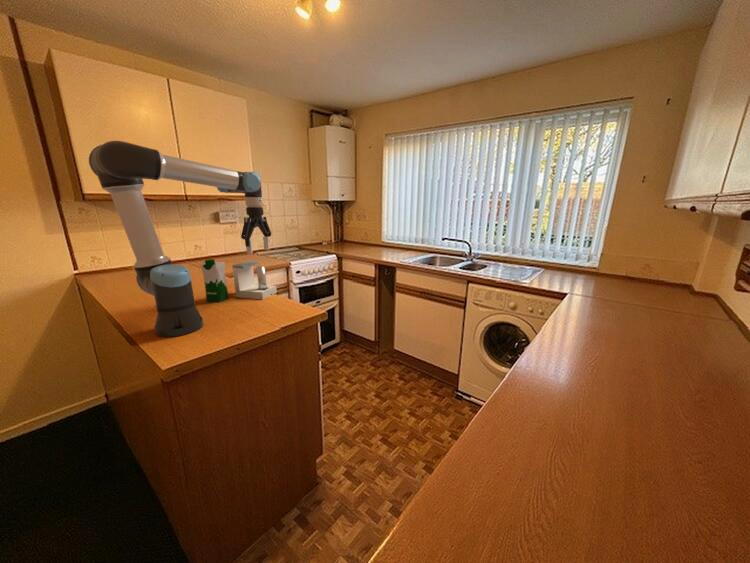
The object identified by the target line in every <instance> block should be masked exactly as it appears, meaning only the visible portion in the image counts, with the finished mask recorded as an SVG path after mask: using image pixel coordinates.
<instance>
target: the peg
mask: <svg viewBox="0 0 750 563" xmlns="http://www.w3.org/2000/svg"><path fill="white" fill-rule="evenodd" d="M255 269H256V276H257V277H256V278H257V285H258V289H259V290H266V289H267V286H268V284H267V275H266V267H265V265H257V266H256V268H255Z"/></svg>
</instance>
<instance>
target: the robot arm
mask: <svg viewBox="0 0 750 563" xmlns="http://www.w3.org/2000/svg"><path fill="white" fill-rule="evenodd" d="M88 164H89V167H90V169H91V171H92V172H93V173H94V175H95V176H97V179H98V181H99V184H100V185H101V188H102V190H104V191H106V192H107V193H109V194H110V196H111V198H112V201H113V203H114V206H115V208H116V212H117V213H118V217H119V219H120V221H121V224H122V226H123V229H124V231H125V234H126V237H127V239H128V242H129V243H130V246H131V249H132V252H133V255H134V257H135V259H136V261H135V263H134V264H133V269H134V270H135V273H136V278H135V279H136V283H137V285H138V287H139V289H141V290H142V291H143V292H145V293H146V294H149V295H151V296H153V297H154V300H155V301H154V302H155V306H156V310H157V314H156V320H155V325H154V333H155V335H156V336H158V337H162V338H163V337H165V338H170V337H171V338H173V337H179V336H184V335H187V334H191V333H193V332H196V331H198V330H201V329H202V328H203V326H204V319H203V317H202V316H201V314H200V312H199V310H198V309H197V307H196V303H195V302H196V301H195V297H194V290H193V284H192V276H191V273H190V270H189V268H188V267H186V266H185V265H182V264H174V263H173V262H172V260H171V257H169V256H167V255H165V254H164V251H163V249H162V245H161V242H160V240H159V236H158V235H157V231H156V229H155V226H154V223H153V221H152V217H151V214H150V212H149V209H148V206H147V203H146V201H145V197H144V195H143V192H142V189H143V188H144V187H145V183H144V180H151V181H159V180H161V179H165V180H171V181H172V180H173V181H176V182H177V181H179V182H184V183H190V184H197V185H201V186H209V187H214V188H216V190H217V191H219V192H220V193H225V194H228V193H229V194H244V201H245V202H244V203H245V206H246V208H245V211H246V216H248V217H243V227H242V230H241V235H240V238H241V239H242V240H244V244H245V249H246V254H253V244H252V243H253V242H252V239H251V237H252V235H253V232H254V230H255V228H257V227H258V229H259V231H260V232H261V233H262V234H263V237H262V240H263V249H264V250H267V251H268V250H270V248H271V247H270V237H272V230H271V229H270V226H269V224H268V220H267V217H266V216H264V214H265V213H264V207H263V206H264V205H263V195H262V194H263V193H262V192H263V191H262V180H261V179H262V178H261V175H260V173H258V172H256V171H237V170H233V169H230V168H229V169H228V168H225V167H221V166H217V165H216V166H215V165H212V164H208V163H207V164H206V163H202V162H199V161H194V160H189V159H184V158H179V157H175V156H170V155H165V154H162V153H161V152H160V151H159V150H158V149H154V148H150V147H146V146H142V145H138V144H135V143H131V142H128V141H127V142H126V141H122V140H109V141H106V142H104V143H103V144H99V145H98V146H96V147H94V148H93V149H92V150H91V151H90V153H89V157H88Z"/></svg>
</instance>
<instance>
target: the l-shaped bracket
mask: <svg viewBox="0 0 750 563" xmlns="http://www.w3.org/2000/svg"><path fill="white" fill-rule="evenodd" d="M259 262H260V261H254V260H247V261H243V262H239V263H236V264H232V274H233V275H232V276H233V281H234V283H233V284H234V289H235V290H234V291H235V297H236V298H244V299H245V298H247V299H255V300H258V299H259V300H264V298H265V299H266V298H269V297H270V296H273V295H274V294H277V293H278V291H277V286H276V285H267V289H266V290H259V289H258V284H256V282H255V280H256V279H255V274H254V273H255V272H254V271H255V270H254V266H256V265H257V266H258V265H259V264H260V263H259ZM271 294H272V295H271Z"/></svg>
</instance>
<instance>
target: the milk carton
mask: <svg viewBox="0 0 750 563" xmlns="http://www.w3.org/2000/svg"><path fill="white" fill-rule="evenodd" d="M199 266H200V269H201V272H202V277H203V282H204V288H205V289H204V290H205V297H206V303H207V302H212V303H213V302H214V303H215V302H216V303H221V302H223V301H225V300H226V299H228V298H229V291H228V288H227V279H226V271H225V270H226V262H222V261H220V262H217V261H216V260H215V258H214V259H205V260H204V263H202V264H200V265H199Z"/></svg>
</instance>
